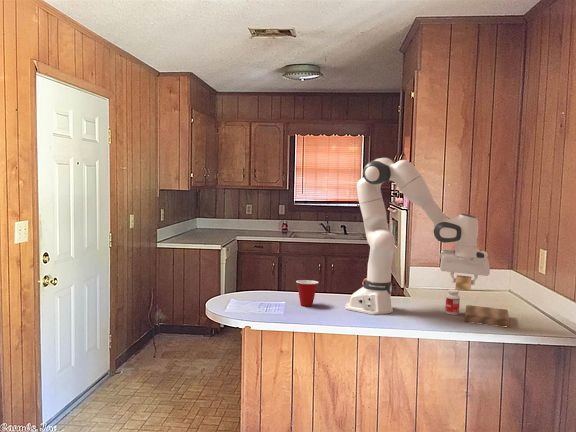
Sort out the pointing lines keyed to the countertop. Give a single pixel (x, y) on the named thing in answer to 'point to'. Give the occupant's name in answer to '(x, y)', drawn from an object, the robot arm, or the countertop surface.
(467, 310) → the walnut block
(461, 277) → the oak block
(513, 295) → the countertop surface
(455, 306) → the pill bottle
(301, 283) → the plastic cup
